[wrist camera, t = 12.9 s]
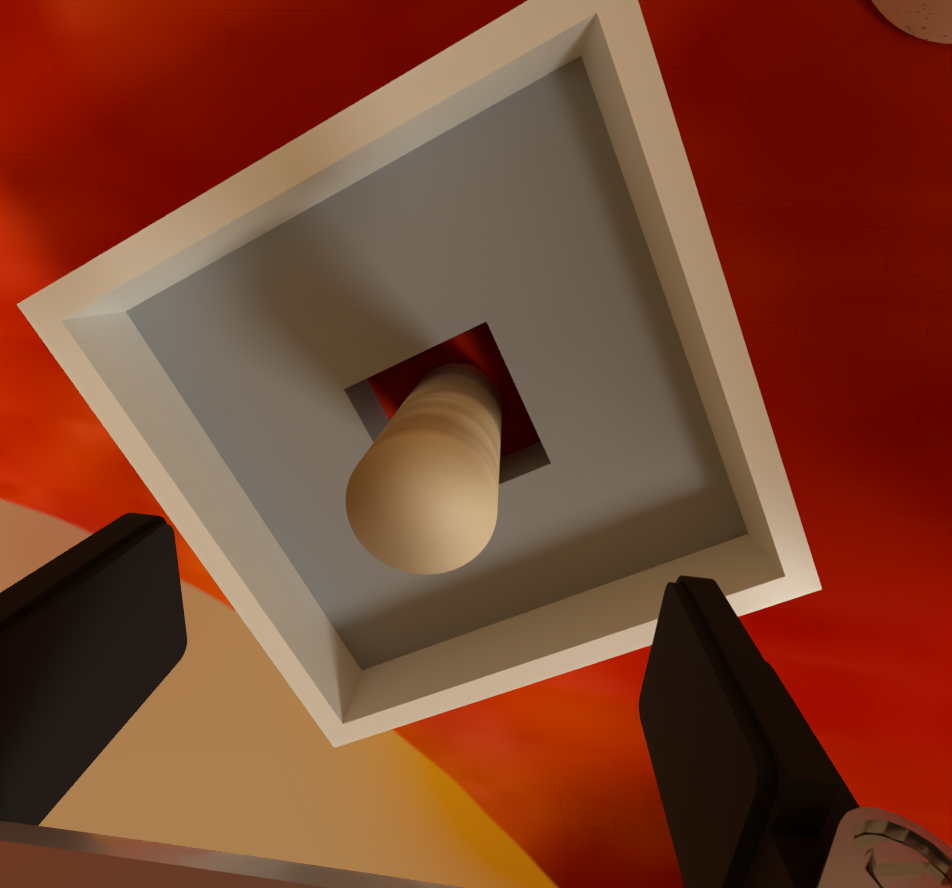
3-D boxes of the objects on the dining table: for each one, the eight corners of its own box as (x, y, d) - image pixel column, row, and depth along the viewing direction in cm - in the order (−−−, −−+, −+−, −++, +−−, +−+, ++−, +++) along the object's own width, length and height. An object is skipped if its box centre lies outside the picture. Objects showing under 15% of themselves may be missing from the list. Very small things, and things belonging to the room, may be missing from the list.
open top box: (585, 41, 18) (620, -56, 13) (747, 511, 24) (822, 589, 18) (141, 292, 22) (16, 304, 17) (369, 648, 28) (334, 747, 22)
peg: (478, 346, 22) (455, 411, 13) (517, 429, 23) (522, 543, 14) (396, 385, 23) (317, 472, 14) (436, 463, 24) (390, 593, 15)
